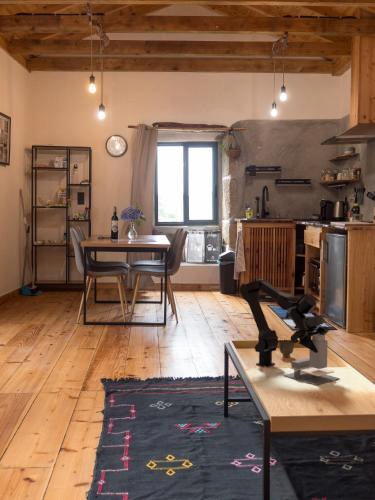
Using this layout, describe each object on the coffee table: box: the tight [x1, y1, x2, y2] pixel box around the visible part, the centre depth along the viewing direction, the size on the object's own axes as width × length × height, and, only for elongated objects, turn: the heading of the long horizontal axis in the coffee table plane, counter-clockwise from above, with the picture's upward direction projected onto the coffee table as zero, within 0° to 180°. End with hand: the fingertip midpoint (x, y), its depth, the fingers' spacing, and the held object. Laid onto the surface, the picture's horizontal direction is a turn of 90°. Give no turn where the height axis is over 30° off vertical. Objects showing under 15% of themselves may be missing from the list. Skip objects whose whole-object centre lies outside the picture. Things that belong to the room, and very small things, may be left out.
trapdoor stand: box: [283, 368, 341, 386], centre depth 220 cm, size 17×15×4 cm
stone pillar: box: [308, 334, 328, 369], centre depth 217 cm, size 5×5×13 cm
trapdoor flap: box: [290, 358, 335, 376], centre depth 220 cm, size 14×10×3 cm
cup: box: [278, 339, 295, 359], centre depth 256 cm, size 8×7×8 cm
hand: (321, 351), depth 216 cm, fingers closed on stone pillar, 5 cm apart
